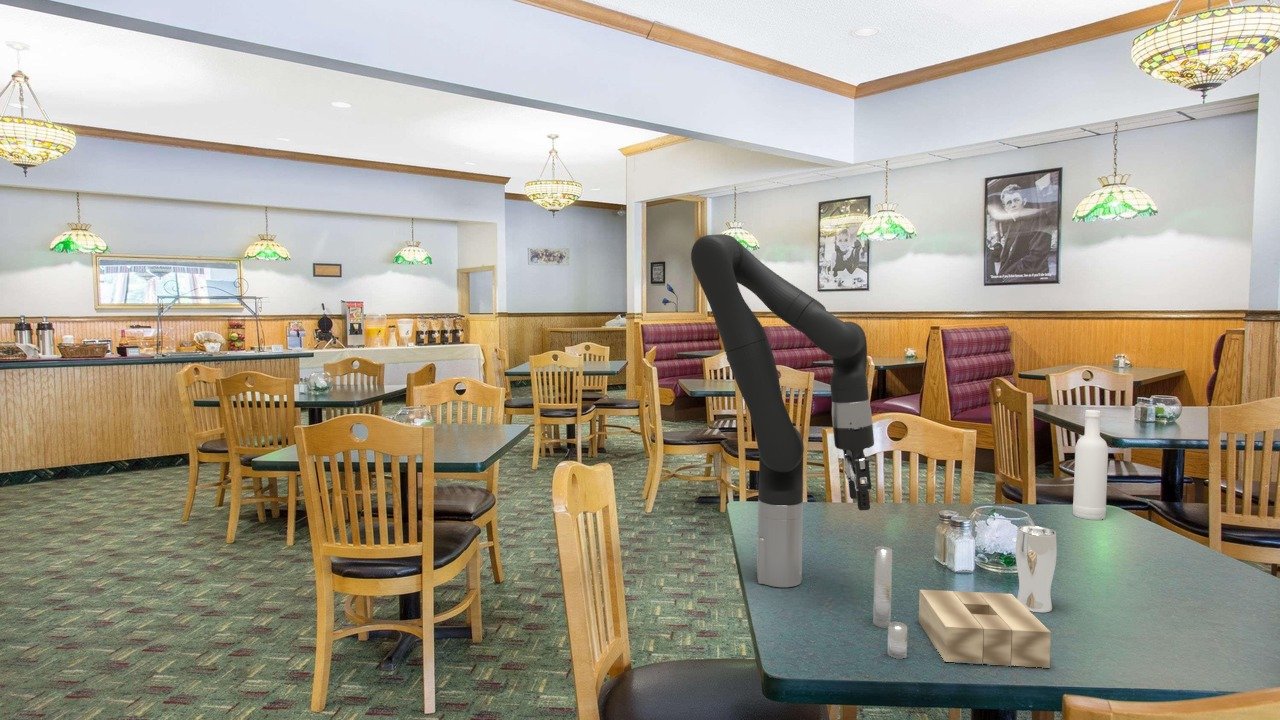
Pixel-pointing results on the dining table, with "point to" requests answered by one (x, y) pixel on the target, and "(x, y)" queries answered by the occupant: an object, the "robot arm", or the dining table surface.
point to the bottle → (1090, 471)
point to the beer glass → (1035, 566)
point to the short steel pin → (897, 640)
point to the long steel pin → (882, 586)
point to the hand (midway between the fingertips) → (859, 503)
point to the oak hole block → (983, 628)
